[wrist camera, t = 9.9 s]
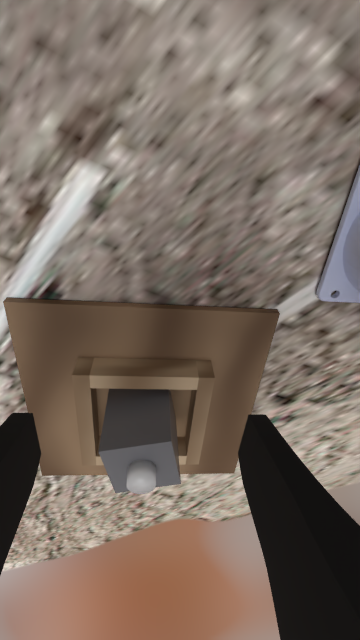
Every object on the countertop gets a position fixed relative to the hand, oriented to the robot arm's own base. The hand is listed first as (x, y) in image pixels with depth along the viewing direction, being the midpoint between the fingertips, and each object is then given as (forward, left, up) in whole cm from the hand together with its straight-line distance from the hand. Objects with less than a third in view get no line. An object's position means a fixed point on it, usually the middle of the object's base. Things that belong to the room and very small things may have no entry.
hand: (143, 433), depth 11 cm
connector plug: (0, +8, -9) cm, 12 cm away
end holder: (0, +8, -9) cm, 12 cm away
